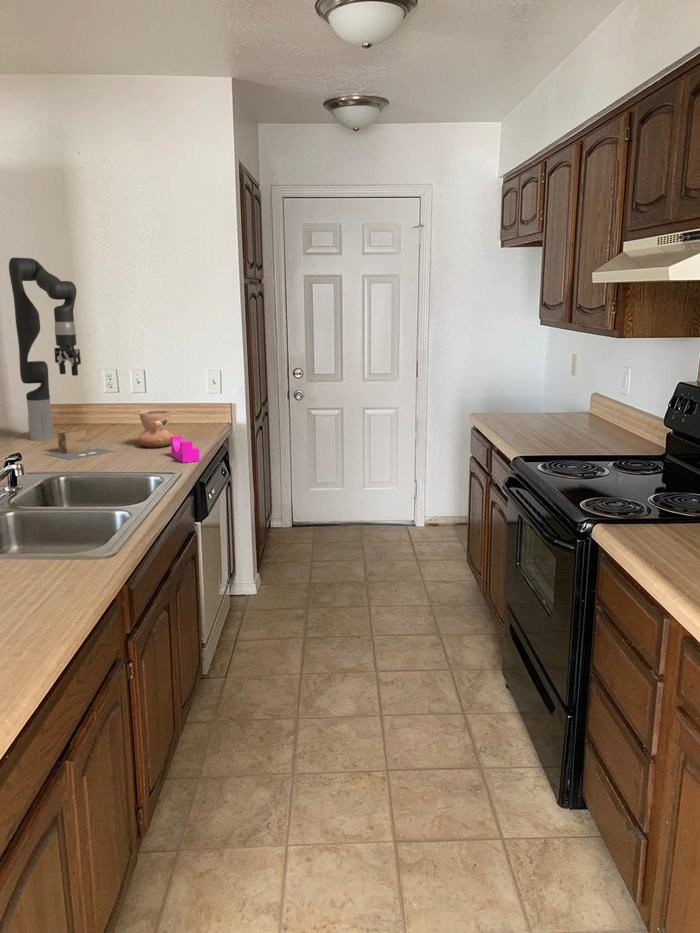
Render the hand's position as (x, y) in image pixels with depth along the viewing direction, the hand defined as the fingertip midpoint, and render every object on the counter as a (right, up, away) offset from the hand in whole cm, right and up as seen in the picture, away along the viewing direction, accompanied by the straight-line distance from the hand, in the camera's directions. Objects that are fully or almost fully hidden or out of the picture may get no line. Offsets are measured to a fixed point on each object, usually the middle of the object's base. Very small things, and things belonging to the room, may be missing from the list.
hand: (68, 374), depth 294 cm
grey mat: (+6, -31, -4) cm, 32 cm away
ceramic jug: (+32, -28, +9) cm, 44 cm away
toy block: (+50, -34, -15) cm, 62 cm away
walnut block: (+2, -30, -2) cm, 31 cm away
